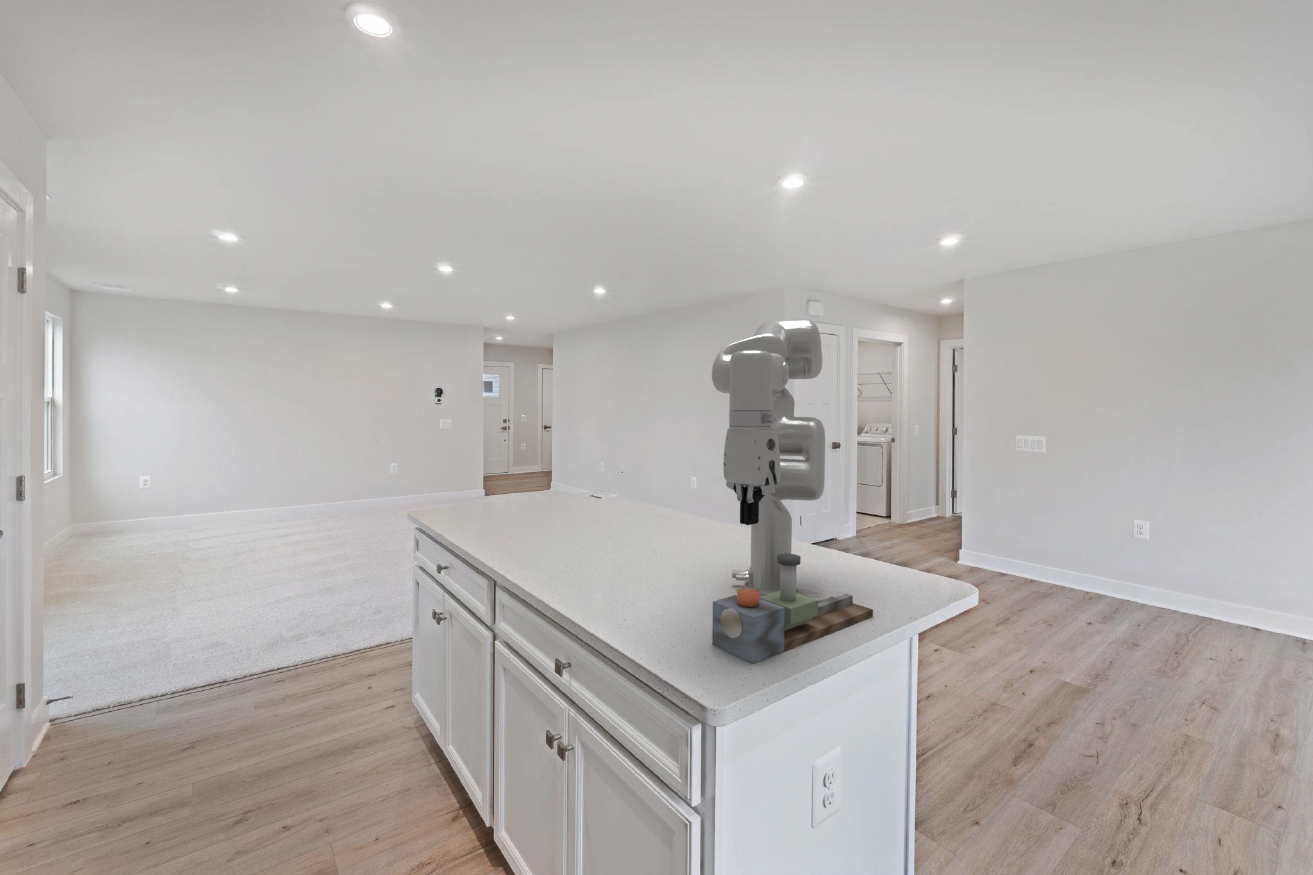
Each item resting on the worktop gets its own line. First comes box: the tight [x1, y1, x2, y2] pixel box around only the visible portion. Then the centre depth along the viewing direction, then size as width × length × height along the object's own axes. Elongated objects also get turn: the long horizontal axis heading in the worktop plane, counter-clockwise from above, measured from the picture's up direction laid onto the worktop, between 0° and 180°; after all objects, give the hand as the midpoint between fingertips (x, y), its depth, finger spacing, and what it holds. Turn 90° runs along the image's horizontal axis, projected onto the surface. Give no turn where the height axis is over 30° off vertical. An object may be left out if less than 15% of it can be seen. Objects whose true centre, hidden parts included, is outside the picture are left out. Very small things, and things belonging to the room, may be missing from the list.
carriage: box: [759, 553, 819, 631], centre depth 109 cm, size 8×8×13 cm
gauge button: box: [736, 588, 760, 607], centre depth 102 cm, size 4×4×2 cm
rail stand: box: [711, 593, 874, 664], centre depth 111 cm, size 37×10×8 cm, turn 128°
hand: (749, 523), depth 102 cm, fingers closed
